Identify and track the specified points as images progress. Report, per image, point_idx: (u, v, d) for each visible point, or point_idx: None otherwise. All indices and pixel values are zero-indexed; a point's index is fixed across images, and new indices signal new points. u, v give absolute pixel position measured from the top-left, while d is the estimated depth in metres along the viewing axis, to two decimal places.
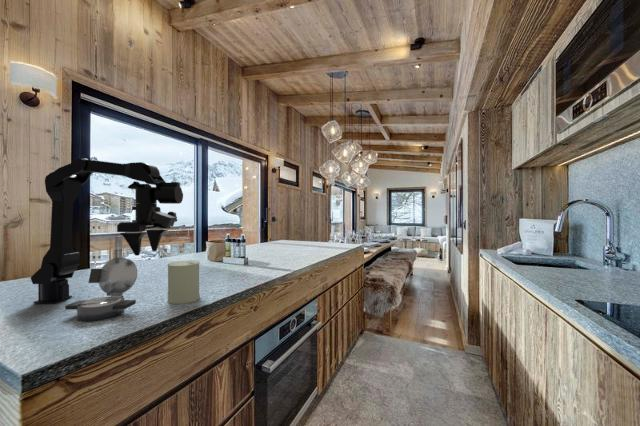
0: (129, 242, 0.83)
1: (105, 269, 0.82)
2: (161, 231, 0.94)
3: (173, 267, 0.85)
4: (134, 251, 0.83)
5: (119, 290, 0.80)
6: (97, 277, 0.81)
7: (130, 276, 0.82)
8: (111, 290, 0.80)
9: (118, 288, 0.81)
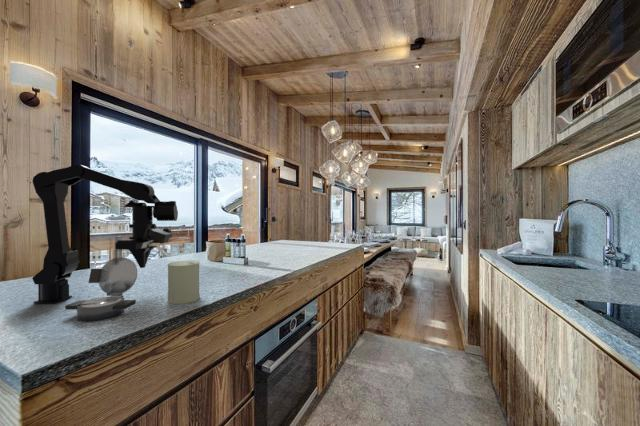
0: (135, 256, 0.92)
1: (105, 269, 0.82)
2: (150, 248, 0.95)
3: (173, 267, 0.85)
4: (139, 264, 0.93)
5: (119, 290, 0.80)
6: (97, 277, 0.81)
7: (130, 276, 0.82)
8: (111, 290, 0.80)
9: (118, 288, 0.81)
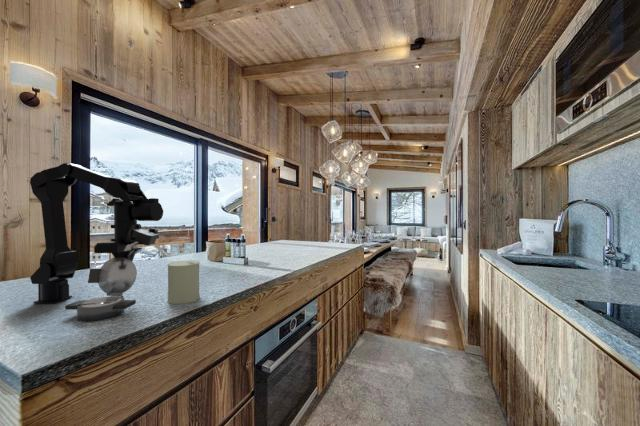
0: None
1: (104, 269, 0.81)
2: (134, 250, 0.86)
3: (173, 267, 0.85)
4: None
5: (119, 290, 0.80)
6: (96, 277, 0.81)
7: (129, 276, 0.81)
8: (111, 290, 0.80)
9: (118, 288, 0.80)
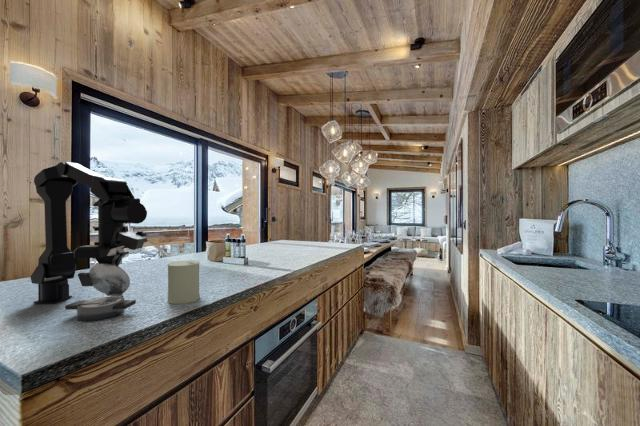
0: None
1: (93, 274, 0.77)
2: (120, 255, 0.80)
3: (173, 267, 0.85)
4: None
5: (117, 292, 0.80)
6: (89, 282, 0.78)
7: (122, 280, 0.78)
8: (109, 292, 0.80)
9: (115, 290, 0.80)
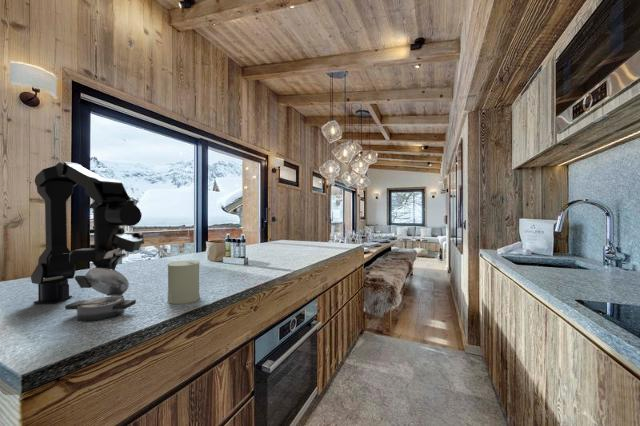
0: None
1: (90, 278, 0.76)
2: None
3: (173, 267, 0.85)
4: None
5: (117, 292, 0.80)
6: (87, 284, 0.77)
7: (121, 283, 0.78)
8: (109, 292, 0.80)
9: (115, 291, 0.79)
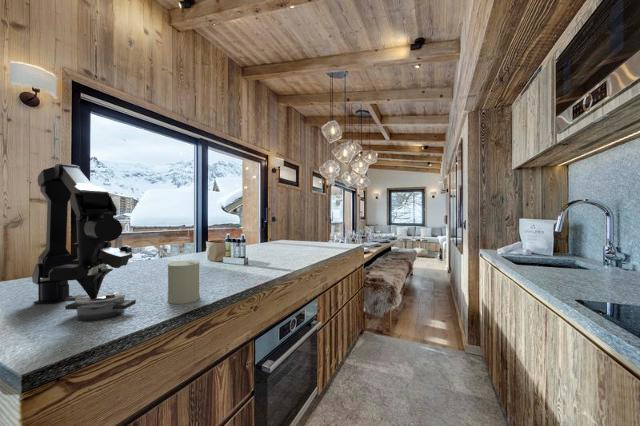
0: (82, 284, 0.71)
1: None
2: None
3: (173, 267, 0.85)
4: (89, 294, 0.72)
5: None
6: None
7: None
8: None
9: None
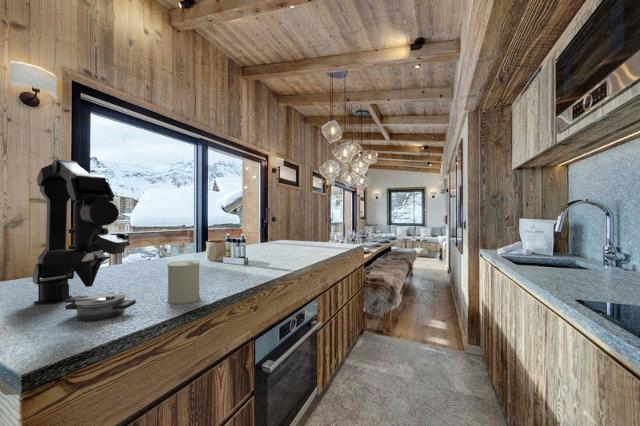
0: (77, 271, 0.69)
1: None
2: (99, 260, 0.72)
3: (173, 267, 0.85)
4: (84, 282, 0.70)
5: None
6: None
7: None
8: None
9: None
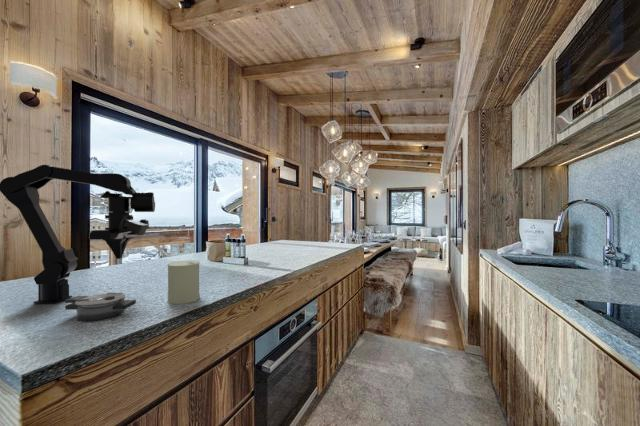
0: (111, 247, 0.92)
1: None
2: (126, 239, 0.95)
3: (173, 267, 0.85)
4: (116, 255, 0.93)
5: None
6: None
7: None
8: None
9: None
